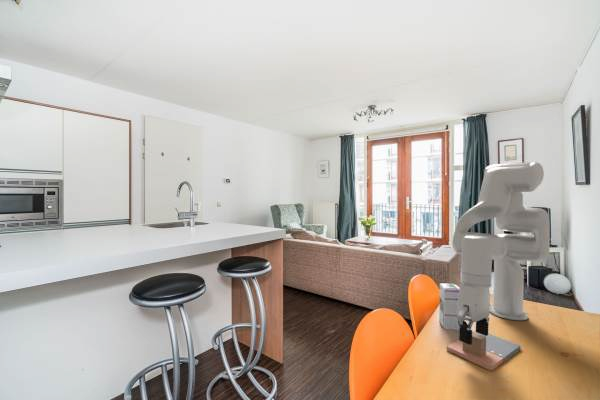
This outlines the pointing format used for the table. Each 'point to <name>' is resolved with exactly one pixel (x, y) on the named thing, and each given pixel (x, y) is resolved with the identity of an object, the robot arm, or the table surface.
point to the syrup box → (449, 306)
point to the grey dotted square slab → (500, 346)
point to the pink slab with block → (476, 352)
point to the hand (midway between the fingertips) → (473, 338)
